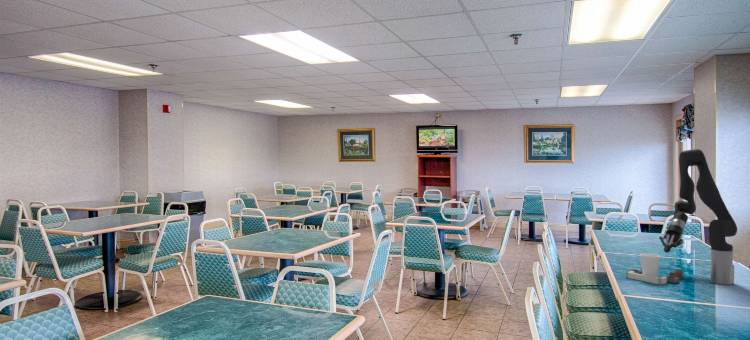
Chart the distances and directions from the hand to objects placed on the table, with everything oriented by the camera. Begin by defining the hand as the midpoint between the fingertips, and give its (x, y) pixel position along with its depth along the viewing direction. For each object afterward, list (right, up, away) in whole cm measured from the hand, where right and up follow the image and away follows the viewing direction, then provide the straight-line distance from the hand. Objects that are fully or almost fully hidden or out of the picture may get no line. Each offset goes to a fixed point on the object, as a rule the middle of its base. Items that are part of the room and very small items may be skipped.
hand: (666, 251), depth 263 cm
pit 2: (-7, -13, -16) cm, 22 cm away
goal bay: (-18, -13, -12) cm, 25 cm away
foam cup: (-15, -13, -9) cm, 22 cm away
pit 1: (-17, -13, 0) cm, 22 cm away
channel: (-4, -13, -2) cm, 14 cm away
